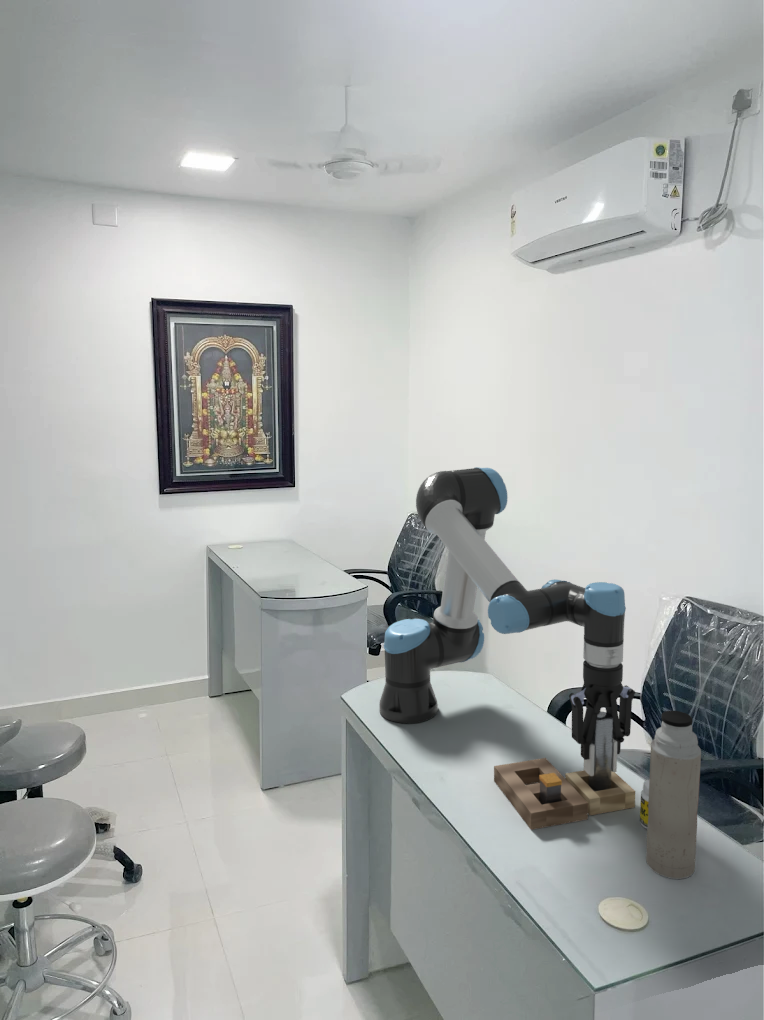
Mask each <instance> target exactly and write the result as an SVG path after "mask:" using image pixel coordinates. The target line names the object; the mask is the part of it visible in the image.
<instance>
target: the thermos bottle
mask: <svg viewBox="0 0 764 1020" xmlns="http://www.w3.org/2000/svg"><path fill="white" fill-rule="evenodd" d="M660 719H661V726H660V727H658V728H657V729H656V731H655V735H654V738H653V739H652V741H651V743H650V757H649V758H650V759H649V803H648V828H647V829H646V832H647V833H646V851H645V852H646V853H645V855H646V856H645V860H646V864H647V866H648V867H649V869H651V870H652V871H653V872H654V873H656V874H658V875H659V876H661V877H664V878H668V879H672V880H682V879H687V878H690V877H691V876H692V875H693V874H694V872H695V869H696V853H697V851H696V850H697V835H698V834H697V832H698V808H699V795H700V782H701V781H700V780H701V778H700V777H701V761H702V749H701V748H700V746H699V740H698V737H697V734H696V733H695V732H694V731H693V725H692V724H693V717H692V716H691V715H690V714H688V713H687V712H683V711H680V710H666V711H663V712H662V713H661V715H660Z"/></svg>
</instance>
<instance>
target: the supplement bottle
mask: <svg viewBox="0 0 764 1020" xmlns="http://www.w3.org/2000/svg"><path fill="white" fill-rule="evenodd" d="M649 779H650V778H649ZM649 779H646V780H644V782H643V785H642V791H641V792H640V808H639V823H640V825H641V826H642V828H645V830H647V828H648V803H649Z"/></svg>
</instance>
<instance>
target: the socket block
mask: <svg viewBox="0 0 764 1020" xmlns="http://www.w3.org/2000/svg"><path fill="white" fill-rule="evenodd" d="M549 773H555V774H556V775H557V776H558V777H559V778H560V779H561V781H562V785H561V801H560V802H554V803H548V804H543V805H542V804H541V803H540V779H539V775H543V774H549ZM493 782H494V783H495V784H496V785H497V787H498V788H499V789H500V791H501V792H502V794H503V795H504V796H505V798H506V799H507V801H508V802H509V803H510V805H512V807H513V808H514V810H516V812H517V814H518V815H519V816H520V817H521V818H522V821H524V822H525V824H526V826H527V827H528V829H529V830H530V831H532V830H537V829H543V828H548V827H549V828H550V827H554V826H559V825H564V824H570V823H571V824H572V823H575V822H580V821H587V820H588V818H589V814H588V802H587V801H586V800H585V799H584V798H583V797H582V796H581V795H580V794H579V793H578V792H577V791H576V790H575V788H574V787H573V786H572V785H571V784H570V783H569V782H568V781H567V780H566V779H565V776H564V775H563V774H561V773H560V772H559V770H558V769H557V768H556V767H555V766H554V765H553V764H552V763H551V762H550V760H549V759H547V758H546V757H542V758H536V759H531V760H530V759H529V760H523V761H516V762H511V763H505V764H504V763H503V764H499V765H494V766H493Z"/></svg>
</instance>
